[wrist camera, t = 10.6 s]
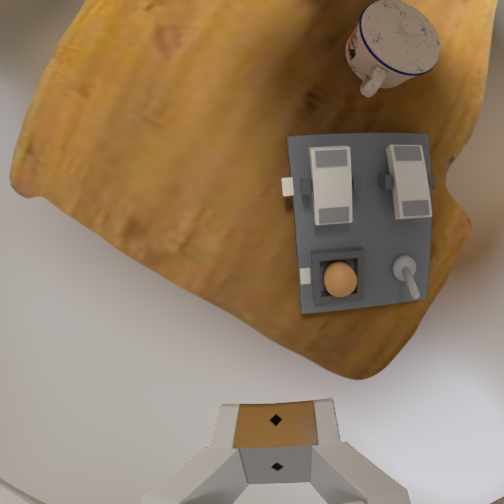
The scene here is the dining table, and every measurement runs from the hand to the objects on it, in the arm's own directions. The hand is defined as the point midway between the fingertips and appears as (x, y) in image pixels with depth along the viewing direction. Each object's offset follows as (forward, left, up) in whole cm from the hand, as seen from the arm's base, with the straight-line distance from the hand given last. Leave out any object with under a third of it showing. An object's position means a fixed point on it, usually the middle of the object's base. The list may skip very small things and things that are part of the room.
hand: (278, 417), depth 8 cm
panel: (+1, +10, -31) cm, 33 cm away
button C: (+7, +7, -28) cm, 29 cm away
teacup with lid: (-18, +14, -31) cm, 39 cm away
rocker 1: (-4, +6, -26) cm, 27 cm away
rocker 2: (-4, +15, -26) cm, 30 cm away
